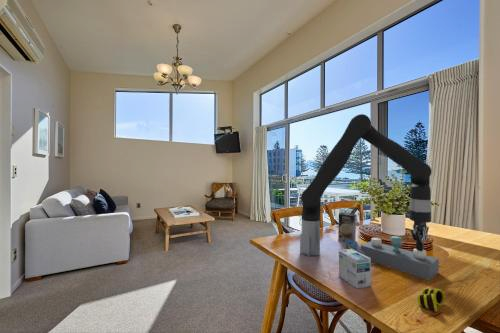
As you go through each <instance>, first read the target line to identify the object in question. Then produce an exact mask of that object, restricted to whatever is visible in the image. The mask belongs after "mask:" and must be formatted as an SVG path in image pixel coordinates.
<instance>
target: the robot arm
mask: <svg viewBox="0 0 500 333" xmlns="http://www.w3.org/2000/svg"><path fill="white" fill-rule="evenodd" d="M361 139H362V140H364V141H366V142H368V143H369V144H371V145H372V146H373V147H375V148H376V149H378V151H380V152H381V153H382V154H384V156H386V157H387V158H388V159H390V160H391V161H392V162H394V163H395V164H396V165H398V166H400V167H402V169H404V171H406V172H407V173H408V175H410V196H409V197H410V199H409V220H410V221H412V222H413V224H412V229H411V230H410V233H411V236H412V239H413V241H415V244H416V245H415V248H416V249H417V250H419V251H423V250H425V246H424V244H425V243H424V242H425V241H426V239H427V237H428V232H429V229H430V227H429V226H428V225H427V224H429V223H431V222H432V201H431V200H432V198H431V197H432V193H431V191H432V190H431V187H430V183H431V182H430V180H431V179H430V178H431V175H432V173H433V172H432V168H431V166H430V165H429V164H428V163H426V162H425V161H423V160H422V159H420V158H418V157H417V156H415V155H413V153H411V152H410V151H409V150H408V149H406V148H405V147H404V146H402V145H401V144H399V143H398V142H396V141H395V140H393V139H391V138H389V137H387V136H385V135H384V134H382V133H381V132H380V131H379V130H377V129H376V128H375V127H374V126H373V125H372V121H371V119H370V117H369V116H368V115H367V114H363V113H359V114H357V115H355V116H354V117H352V118H351V119H350V120H349V122H348V125H347V127H346V128H345V131H344V132H343V134H342V136H341V137H340V139H339V140H338V141H337V143H336V144H335V145H334V147H332V148H331V151H330V152H329V153H328V155H327V156H326V158H325V159H324V161H323V162H322V164H321V165H320V167H319V169H318V171H317V172H316V175H315V176H314V178H313V180H312V181H311V182H310V183H309V185H308V186H307V187H306V188H305V189H304V191H302V192H301V195H300V202H301V203H302V211H301V234H299V236H300V237H299V240H300V241H299V253H301V254H302V255H305V256H308V257H316V256H319V255H320V253H321V252H320V250H321V209H322V208H321V202H322V200H321V198H322V197H323V195H324V193H325V191H326V190H327V188H328V186H330V184H331V183H332V182H333V181H335V179H336V178H337V176H338V175H339V174H340V172H342V170H343V168H345V165H347V163H348V161H349V159H350V157H351V154H352V152H353V150H354V148H355V146H356V145H357V143H358V142H359V141H360V140H361Z"/></svg>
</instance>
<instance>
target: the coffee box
mask: <svg viewBox="0 0 500 333" xmlns="http://www.w3.org/2000/svg"><path fill="white" fill-rule="evenodd" d="M356 223H357V214H356V213H348V212H342V211H341V212H339V213H338V232H337V233H338V239H337V240H338V242H345V243H346V238H348V239H349V240H351V241H353V242H355V243H356V241H357V240H356V238H357V237H356V235H357V232H356V231H357V230H356V229H357V228H356V227H357V224H356ZM349 243H350V242H349ZM350 244H351V243H350Z"/></svg>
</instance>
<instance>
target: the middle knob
mask: <svg viewBox="0 0 500 333" xmlns="http://www.w3.org/2000/svg"><path fill="white" fill-rule="evenodd" d="M390 244H391V246H393V247H394V252H396V253H399V248H400V247H401V246H403V237H401V236H396V235H395V236H393V235H391V236H390Z"/></svg>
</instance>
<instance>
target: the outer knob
mask: <svg viewBox="0 0 500 333" xmlns="http://www.w3.org/2000/svg"><path fill="white" fill-rule="evenodd" d="M412 252H413V256H414V257H415V258H418V259H421V260H423V259H426V256H427V250H425V249H424V250H423V251H419V250H417V249H416V247H415V248H413V251H412Z"/></svg>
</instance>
